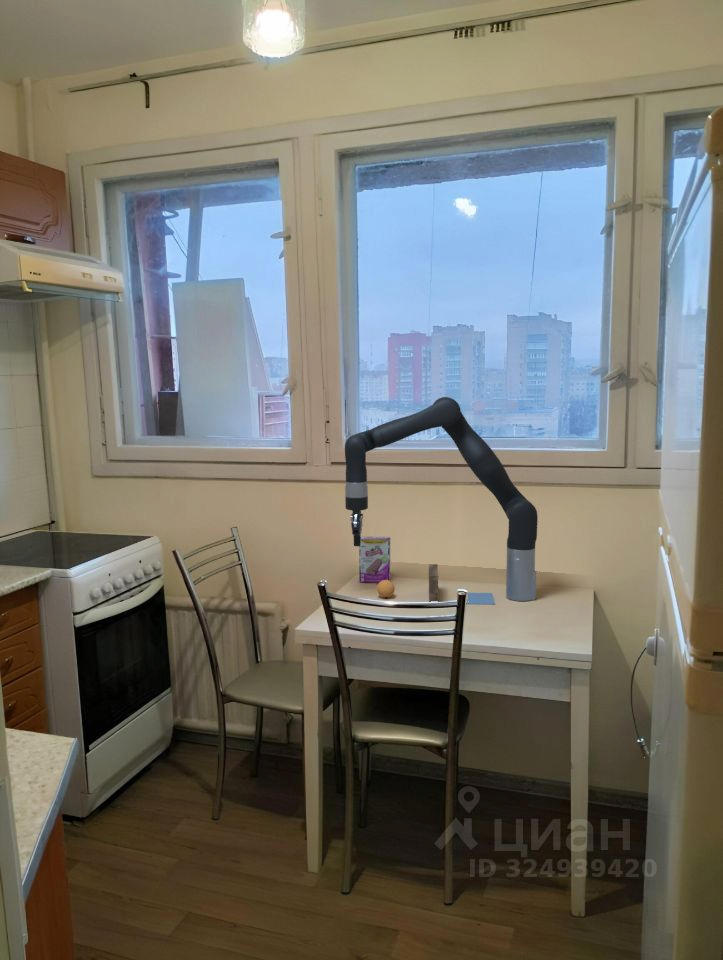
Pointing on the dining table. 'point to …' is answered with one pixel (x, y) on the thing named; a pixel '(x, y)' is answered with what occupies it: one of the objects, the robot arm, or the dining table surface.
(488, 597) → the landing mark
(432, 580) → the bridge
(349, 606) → the dining table surface
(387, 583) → the ball
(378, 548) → the candy bar box
